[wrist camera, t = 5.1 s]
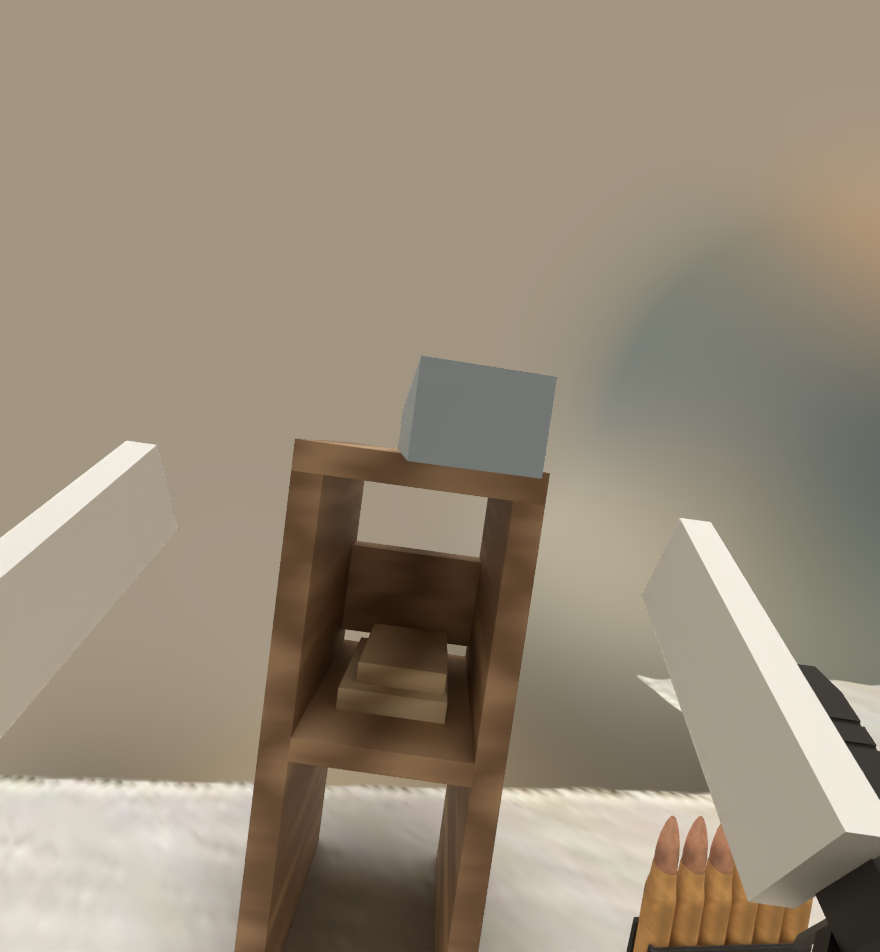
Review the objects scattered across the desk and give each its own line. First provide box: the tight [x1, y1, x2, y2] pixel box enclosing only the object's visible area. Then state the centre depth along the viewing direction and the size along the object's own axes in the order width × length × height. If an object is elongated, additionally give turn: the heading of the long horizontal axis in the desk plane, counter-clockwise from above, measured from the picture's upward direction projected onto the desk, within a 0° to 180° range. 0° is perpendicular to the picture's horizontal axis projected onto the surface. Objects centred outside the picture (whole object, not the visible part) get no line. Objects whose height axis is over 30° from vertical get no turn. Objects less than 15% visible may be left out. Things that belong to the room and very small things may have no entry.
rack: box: [234, 439, 550, 952], centre depth 29 cm, size 12×12×32 cm
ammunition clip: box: [627, 816, 813, 952], centre depth 28 cm, size 11×2×12 cm, turn 99°
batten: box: [398, 356, 557, 479], centre depth 26 cm, size 4×24×3 cm, turn 6°
